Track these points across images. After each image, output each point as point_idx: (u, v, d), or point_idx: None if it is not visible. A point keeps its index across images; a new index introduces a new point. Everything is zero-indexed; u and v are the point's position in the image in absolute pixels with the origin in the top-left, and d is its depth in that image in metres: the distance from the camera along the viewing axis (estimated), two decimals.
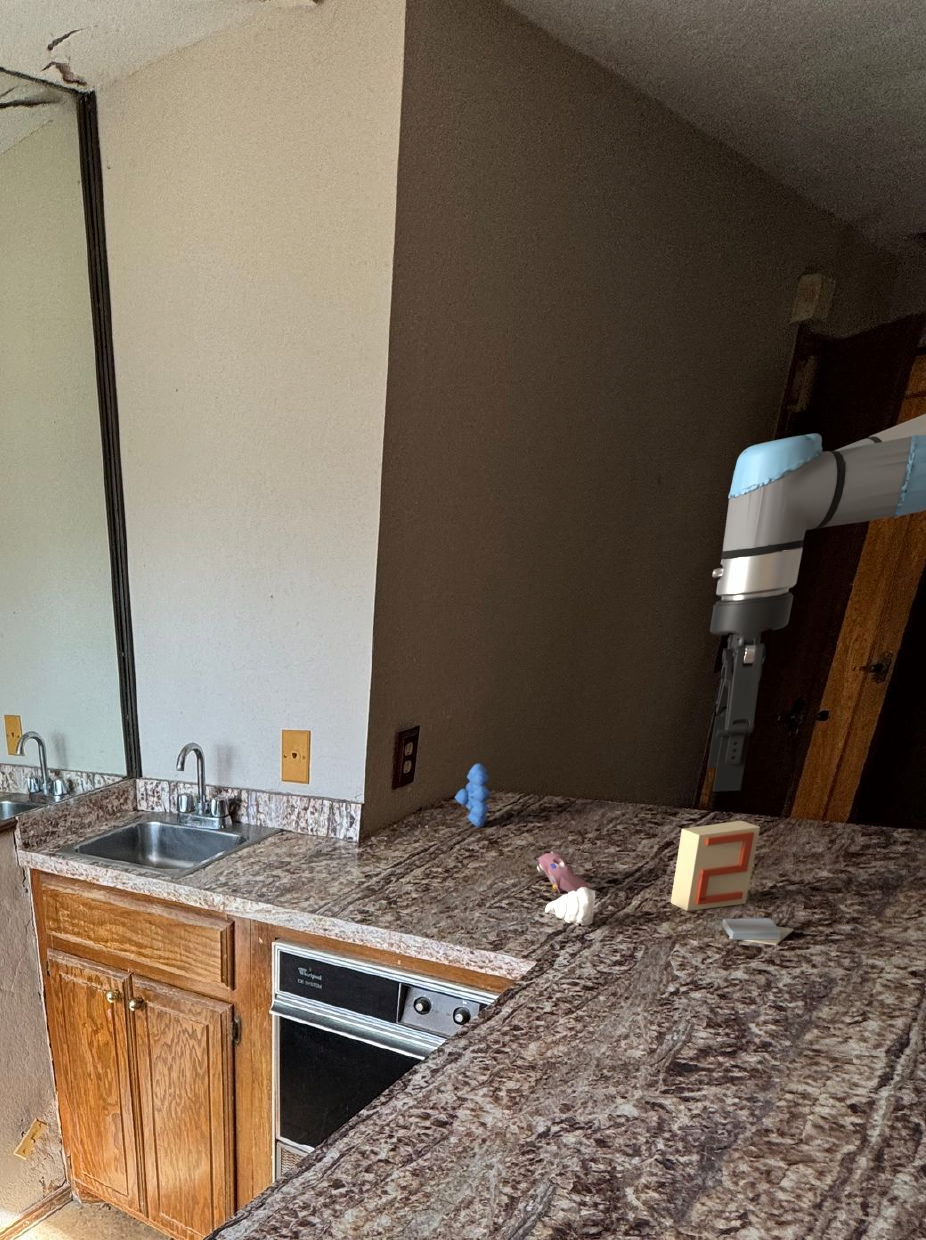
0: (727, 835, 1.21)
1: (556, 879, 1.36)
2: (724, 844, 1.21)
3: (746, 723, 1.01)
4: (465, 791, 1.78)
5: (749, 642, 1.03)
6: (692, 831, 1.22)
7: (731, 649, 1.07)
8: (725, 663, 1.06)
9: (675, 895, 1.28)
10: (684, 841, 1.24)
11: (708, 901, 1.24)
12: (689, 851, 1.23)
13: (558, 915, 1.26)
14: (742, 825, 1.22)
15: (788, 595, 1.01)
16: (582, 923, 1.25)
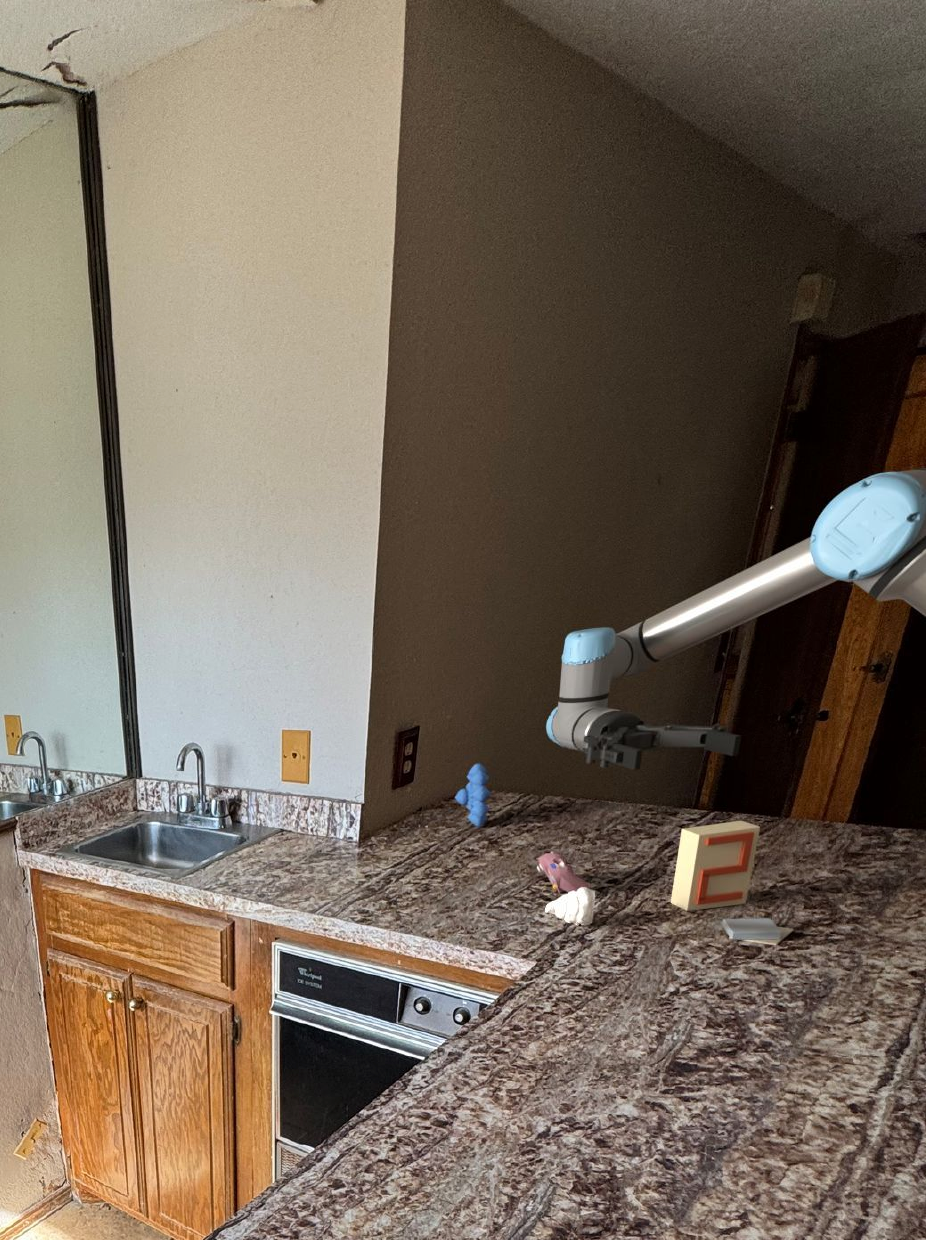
0: (727, 835, 1.21)
1: (556, 879, 1.36)
2: (724, 844, 1.21)
3: None
4: (465, 791, 1.78)
5: None
6: (692, 831, 1.22)
7: None
8: None
9: (675, 895, 1.28)
10: (684, 841, 1.24)
11: (708, 901, 1.24)
12: (689, 851, 1.23)
13: (558, 915, 1.26)
14: (742, 825, 1.22)
15: None
16: (582, 923, 1.25)
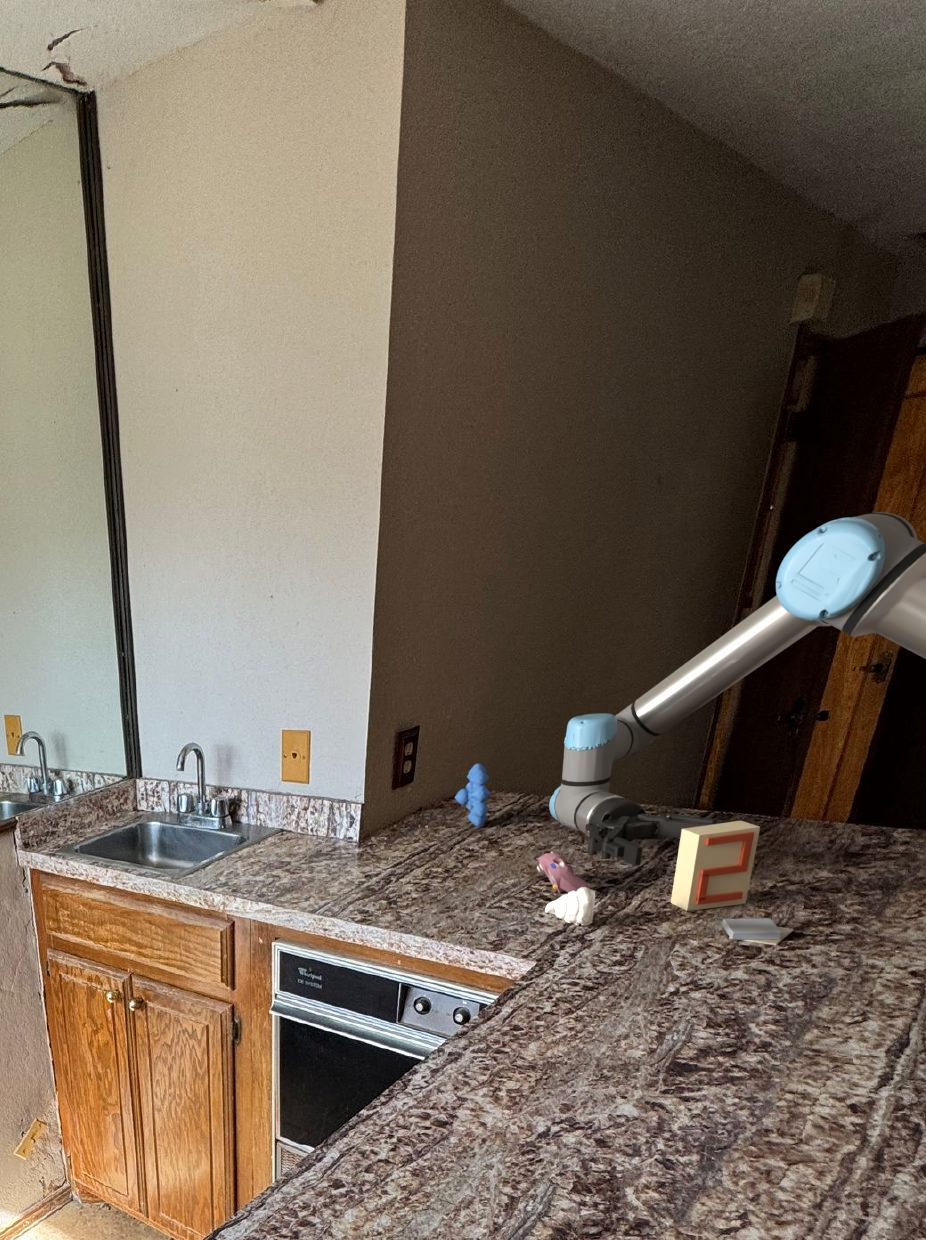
0: (727, 835, 1.21)
1: (556, 879, 1.36)
2: (724, 844, 1.21)
3: None
4: (465, 791, 1.78)
5: None
6: (692, 831, 1.22)
7: None
8: None
9: (675, 895, 1.28)
10: (684, 841, 1.24)
11: (708, 901, 1.24)
12: (689, 851, 1.23)
13: (558, 915, 1.26)
14: (742, 825, 1.22)
15: (604, 802, 1.47)
16: (582, 923, 1.25)
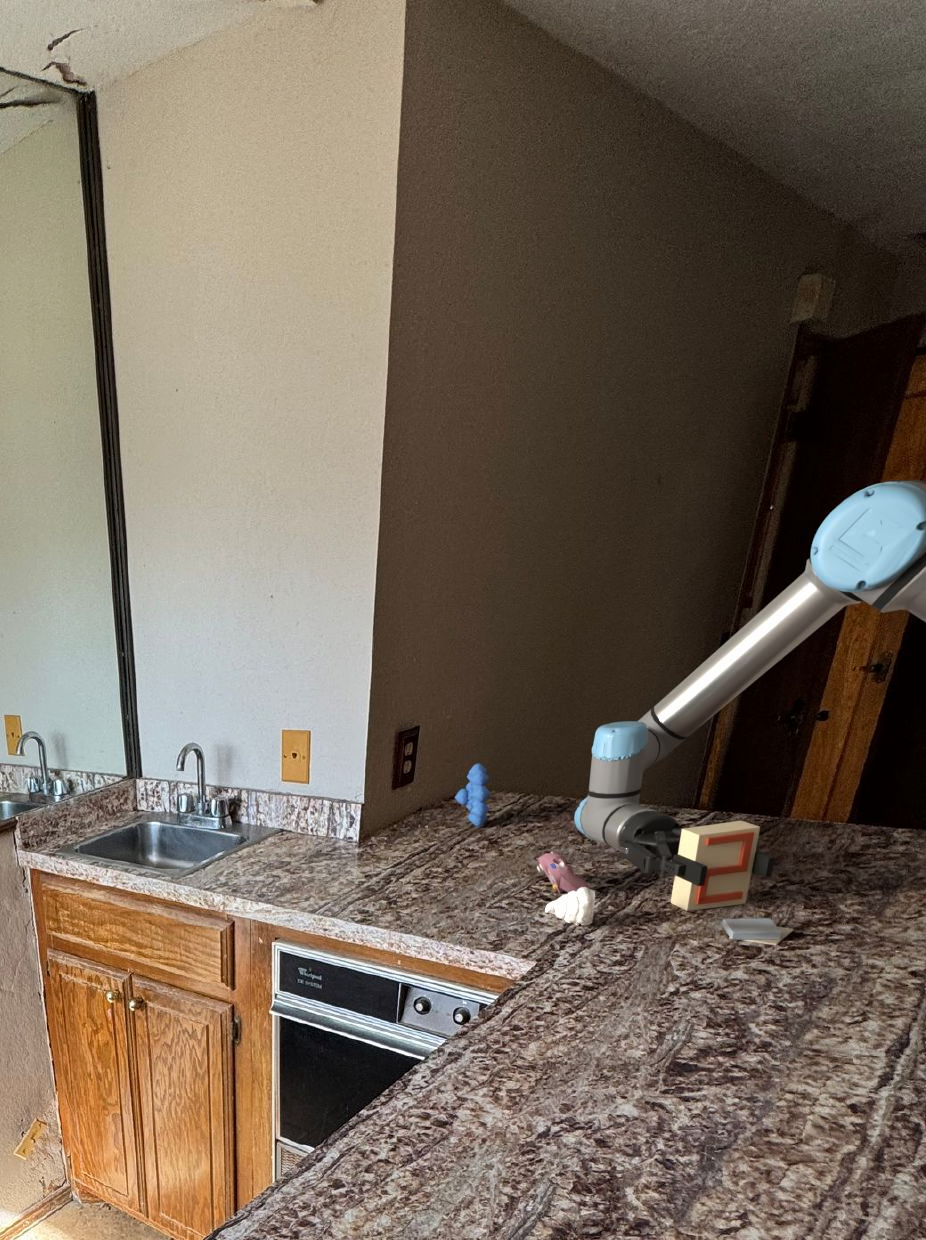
0: (727, 835, 1.21)
1: (556, 879, 1.36)
2: (724, 844, 1.21)
3: (646, 860, 1.28)
4: (465, 791, 1.78)
5: None
6: (692, 831, 1.22)
7: None
8: None
9: (675, 895, 1.28)
10: (684, 841, 1.24)
11: (708, 901, 1.24)
12: (689, 851, 1.23)
13: (558, 915, 1.26)
14: (742, 825, 1.22)
15: (636, 816, 1.39)
16: (582, 923, 1.25)
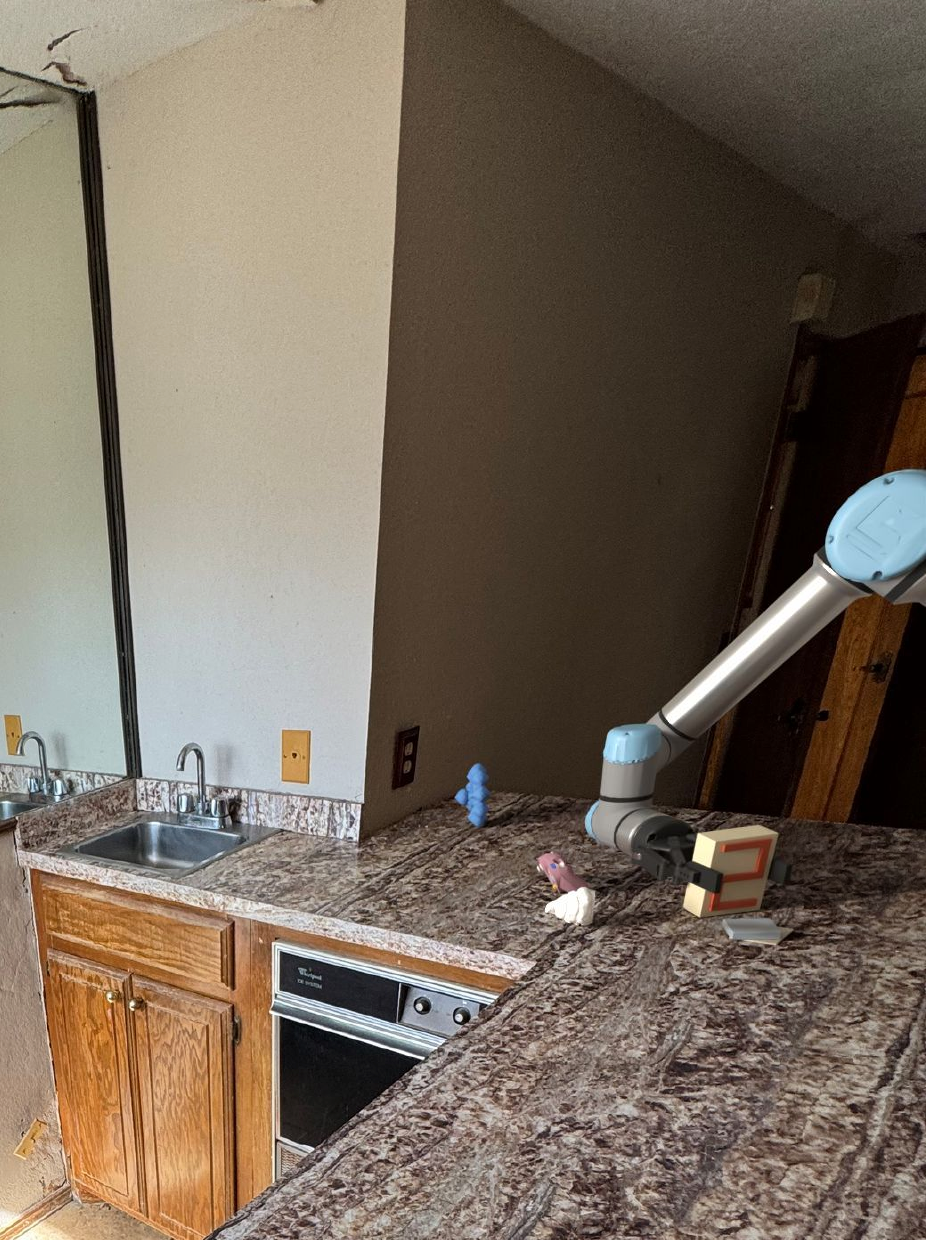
0: (744, 841, 1.17)
1: (556, 879, 1.36)
2: (741, 851, 1.18)
3: None
4: (465, 791, 1.78)
5: None
6: (708, 836, 1.19)
7: None
8: None
9: (688, 900, 1.25)
10: (700, 846, 1.21)
11: (721, 908, 1.22)
12: (704, 856, 1.20)
13: (558, 915, 1.26)
14: (760, 830, 1.18)
15: (649, 821, 1.36)
16: (582, 923, 1.25)
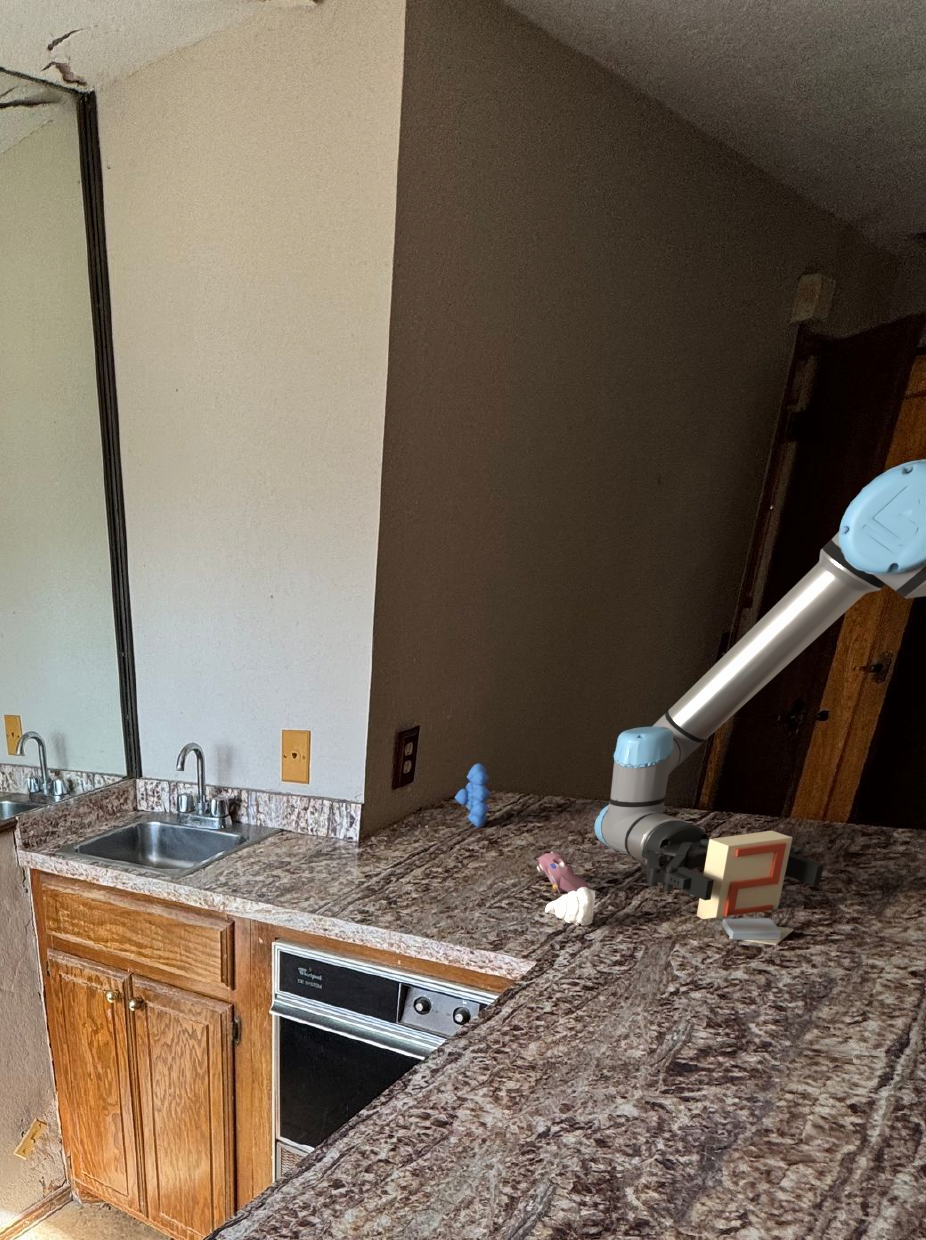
0: (757, 845, 1.15)
1: (556, 879, 1.36)
2: (754, 856, 1.16)
3: None
4: (465, 791, 1.78)
5: None
6: (720, 842, 1.17)
7: None
8: None
9: (702, 908, 1.22)
10: (712, 852, 1.18)
11: None
12: (717, 862, 1.18)
13: (558, 915, 1.26)
14: (773, 835, 1.16)
15: None
16: (582, 923, 1.25)
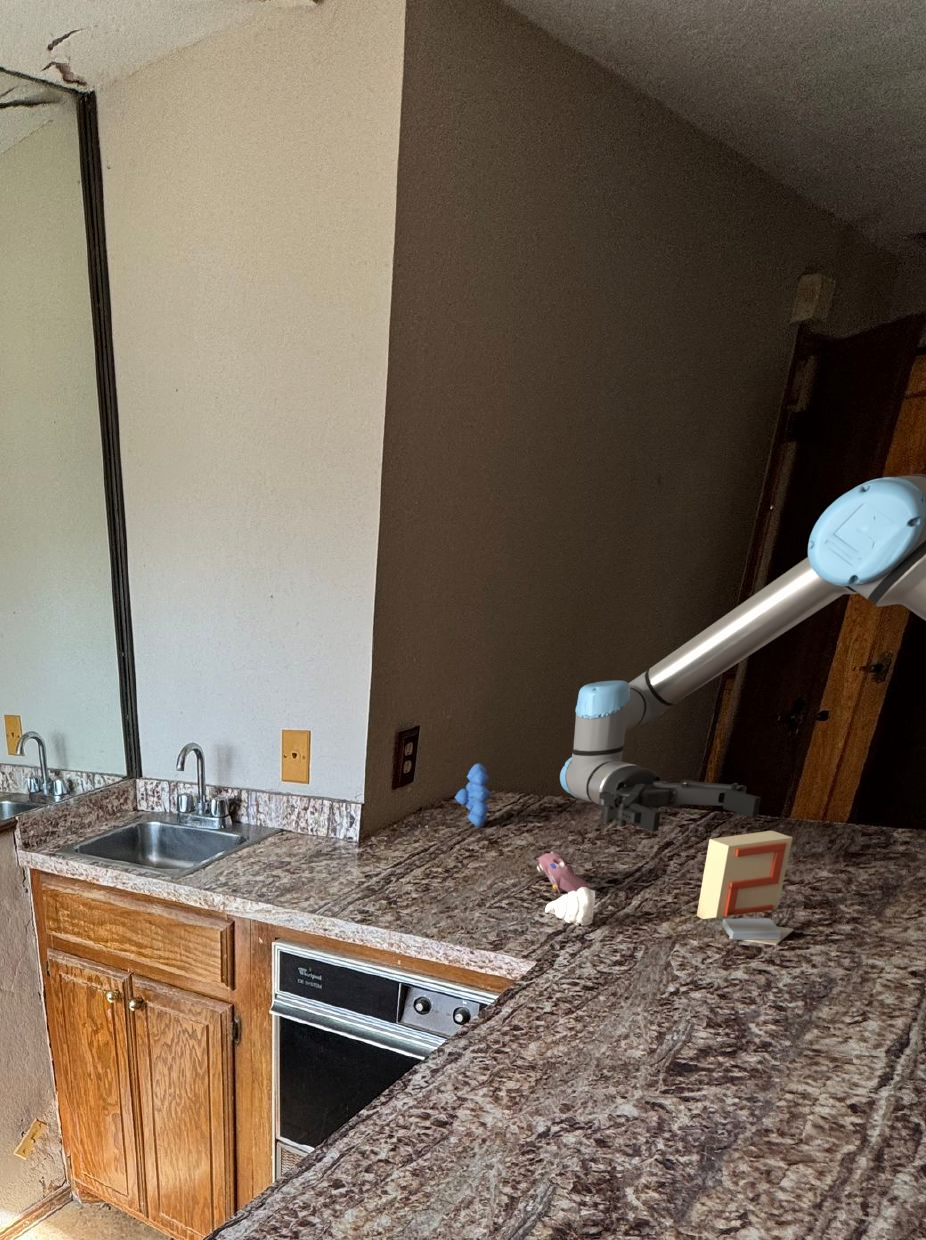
0: (757, 846, 1.15)
1: (556, 879, 1.36)
2: (755, 856, 1.16)
3: None
4: (465, 791, 1.78)
5: None
6: (721, 842, 1.17)
7: None
8: None
9: (702, 908, 1.22)
10: (712, 852, 1.18)
11: None
12: (717, 862, 1.18)
13: (558, 915, 1.26)
14: (773, 835, 1.16)
15: (618, 770, 1.43)
16: (582, 923, 1.25)
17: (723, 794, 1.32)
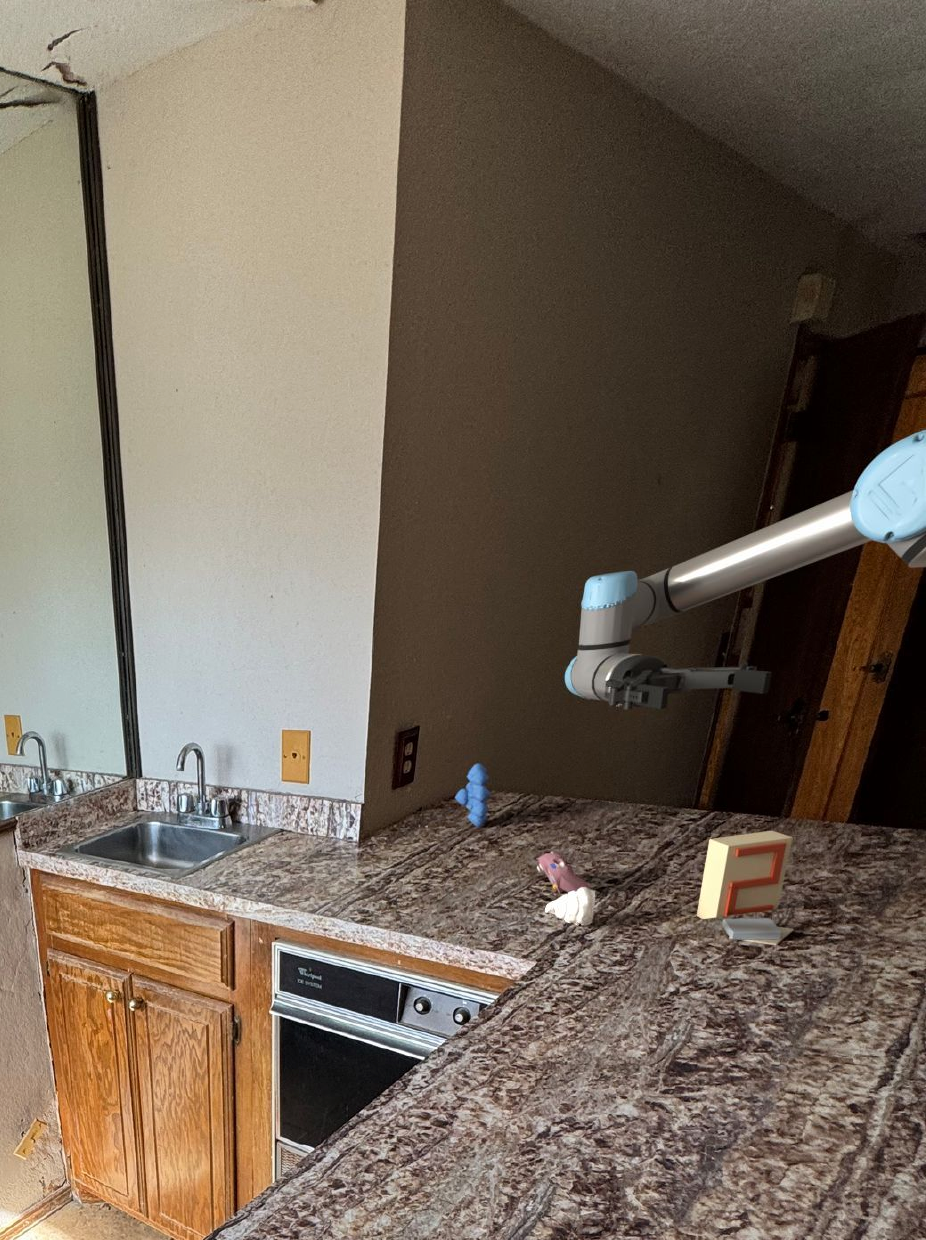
0: (757, 846, 1.15)
1: (556, 879, 1.36)
2: (755, 856, 1.16)
3: (611, 692, 1.31)
4: (465, 791, 1.78)
5: None
6: (721, 842, 1.17)
7: None
8: None
9: (702, 908, 1.22)
10: (712, 852, 1.18)
11: None
12: (717, 862, 1.18)
13: (558, 915, 1.26)
14: (773, 835, 1.16)
15: None
16: (582, 923, 1.25)
17: (732, 676, 1.29)
